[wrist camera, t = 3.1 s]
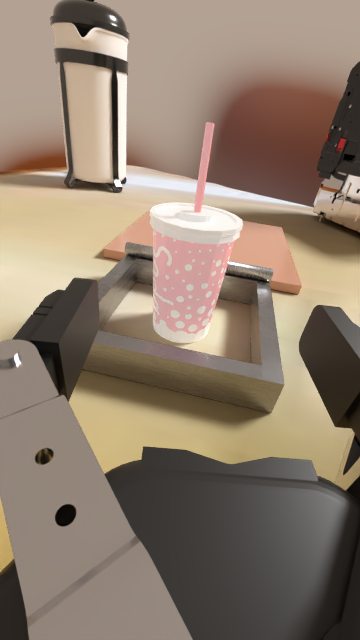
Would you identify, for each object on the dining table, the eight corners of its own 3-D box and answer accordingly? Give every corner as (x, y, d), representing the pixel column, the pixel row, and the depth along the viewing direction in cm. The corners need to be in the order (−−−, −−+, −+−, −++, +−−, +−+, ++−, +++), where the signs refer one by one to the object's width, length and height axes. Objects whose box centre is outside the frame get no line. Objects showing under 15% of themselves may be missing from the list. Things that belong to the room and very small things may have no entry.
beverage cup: (144, 303, 26) (155, 114, 18) (211, 307, 27) (249, 127, 19) (142, 348, 21) (154, 114, 13) (223, 351, 22) (282, 132, 14)
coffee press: (149, 190, 65) (160, -5, 48) (83, 195, 55) (66, -50, 38) (106, 174, 74) (102, 6, 57) (43, 176, 64) (15, -27, 47)
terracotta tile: (280, 233, 49) (281, 227, 49) (298, 294, 31) (301, 286, 31) (154, 211, 51) (154, 205, 51) (103, 256, 33) (103, 248, 33)
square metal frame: (262, 300, 29) (273, 266, 27) (271, 413, 18) (291, 369, 16) (128, 274, 30) (128, 240, 28) (56, 363, 19) (48, 316, 17)
